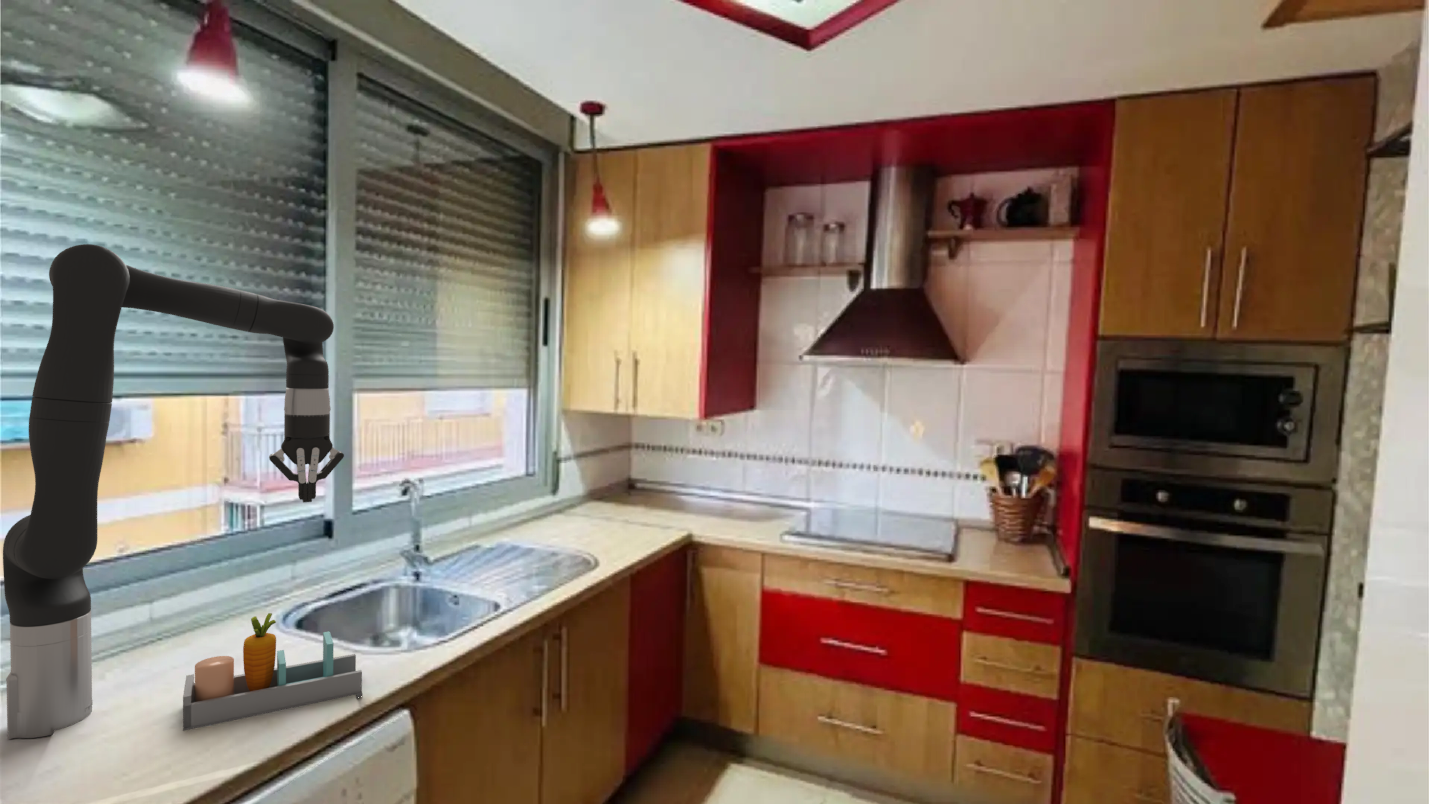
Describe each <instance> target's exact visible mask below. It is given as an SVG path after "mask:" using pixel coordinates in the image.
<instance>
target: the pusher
mask: <svg viewBox="0 0 1429 804" xmlns="http://www.w3.org/2000/svg"><path fill="white" fill-rule="evenodd" d="M322 635H323V636H322V660H323V677H328V676H333V658H334V641H333V638H332V634H331V632H330V631H324V632H322ZM276 652H277V653H276V668H277V686H281V685H287V684H286V666H287V661H286V655H285V649H282V650H276ZM323 677H319V678H323ZM314 679H318V678H314ZM309 680H312V679H309ZM304 681H307V680H304ZM299 682H302V681H299ZM293 683H297V682H293ZM288 684H292V683H288Z"/></svg>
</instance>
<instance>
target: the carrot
mask: <svg viewBox="0 0 1429 804" xmlns="http://www.w3.org/2000/svg"><path fill="white" fill-rule="evenodd" d="M272 616H273V613H272V612H269V613H267V614H266V617H265V619H264V623H263V624H261V623H260V621H259V619H258V617H257V616H253V617H252V618H250V621H251V626H252V629H253V632H254V634H252V635H249V636H247V637H246V638H245V639H244V640H243V649H242V653H243V654H242V655H243V656H242V658H243V660H242V661H243V674H245V678H246V682H247V686H248V689H249V691H256V690H261V689H266V688H269V686H270V684H271V681H272V676H273V672H274V668H276V667H275V666H276V657H277V653H276V652H277V635H276V634H274V633H269V632H268V630H269V629H270V627H271V626H273V625H274V624H276V623H277V621H276V620H275V619H272ZM271 619H272V620H271Z"/></svg>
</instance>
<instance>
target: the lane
mask: <svg viewBox="0 0 1429 804" xmlns="http://www.w3.org/2000/svg"><path fill="white" fill-rule="evenodd" d="M356 657H357V655H356V653H352V654H348V655H342V656H336V657H333V676H328V677H323V659H319V660H314V661H313V660H312V661H309V662H303V663H302V662H301V663H298V664H292V665H286V684H287V685H281V686H277V667H274V672H273V676H272V681H271V684H270V686H269V688H266V689H261V690H256V691H249V689H248V686H247V682H246V678H245V673H243V674H236V675H234V695H230V696H225V697H219V698H214V699H209V700H204V701H199V702H195V673H193V674H188V675H186V676H185V682H184V683H185V684H184V687H183V688H184V690H183V695H182V731H183V732H185V731H189V730H194V729H199V728H204V727H208V726H214V725H218V724H222V723H227V722H232V721H237V720H242V719H247V718H251V717H256V716H260V715H265V714H270V713H274V712H275V713H276V712H279V711H280V712H281V711H283V710H284V711H285V710H289V709H293V708H299V707H303V706H307V705H312V704H317V703H323V702H326V701H331V700H332V701H333V700H336V699H341V698H346V697H351V696H354V695H355V698H356V699H359V698H358V697H361V696H362V697H363V671H362V670H361V669H360V670H356V668H357V665H356V663H357V659H356ZM319 677H323V678H319ZM314 678H318V679H314ZM309 679H312V680H309ZM304 680H307V681H304ZM299 681H302V682H299ZM293 682H297V683H293ZM288 683H292V684H288Z"/></svg>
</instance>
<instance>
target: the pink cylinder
mask: <svg viewBox="0 0 1429 804" xmlns="http://www.w3.org/2000/svg"><path fill="white" fill-rule="evenodd" d="M234 676H235V658H234V657H233V656H229V655H217V656H211V657H208V658H205V659H202V660H200V661H198V662H197V663H195V665H194V683H195V702H199V701H204V700H209V699H214V698H219V697H225V696H230V695H234Z"/></svg>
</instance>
